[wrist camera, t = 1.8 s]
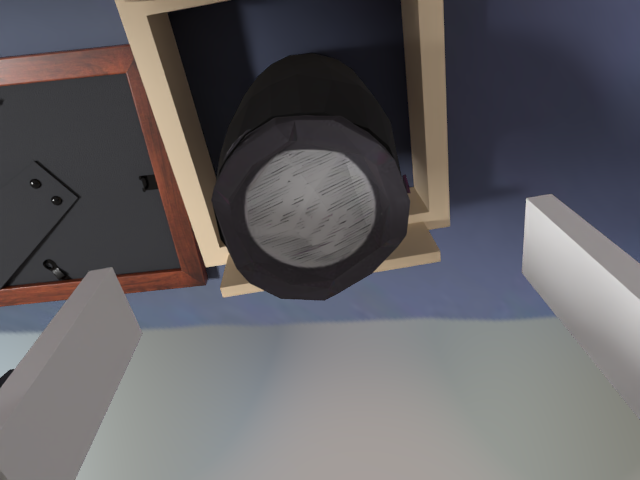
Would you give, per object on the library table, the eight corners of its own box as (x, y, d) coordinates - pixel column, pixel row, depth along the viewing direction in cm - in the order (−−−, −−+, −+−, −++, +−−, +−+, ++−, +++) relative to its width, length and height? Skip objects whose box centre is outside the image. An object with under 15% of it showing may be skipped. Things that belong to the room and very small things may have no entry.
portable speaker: (377, 65, 33) (465, 143, 16) (334, 179, 38) (369, 336, 20) (264, 24, 32) (231, 62, 15) (232, 148, 36) (177, 291, 19)
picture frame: (-59, 302, 42) (209, 274, 42) (-74, 316, 40) (205, 286, 40) (-196, 77, 32) (150, 41, 32) (-224, 82, 31) (142, 43, 31)
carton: (215, 237, 40) (194, 302, 31) (138, -8, 30) (79, -9, 22) (432, 199, 39) (470, 256, 30) (419, -63, 30) (468, -84, 21)
